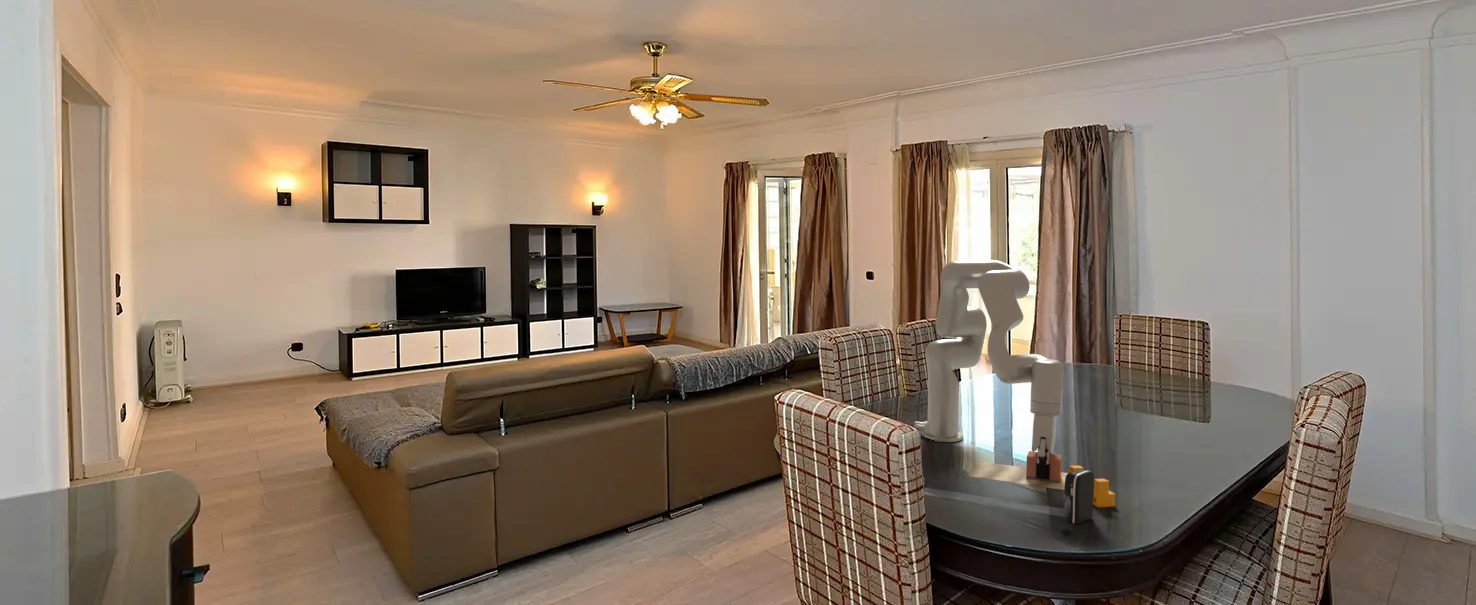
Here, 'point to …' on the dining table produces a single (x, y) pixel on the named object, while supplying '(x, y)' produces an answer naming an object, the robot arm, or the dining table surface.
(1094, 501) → the pipe clamp
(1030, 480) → the board
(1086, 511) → the battery charger
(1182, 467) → the dining table surface
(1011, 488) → the dining table surface
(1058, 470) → the block
